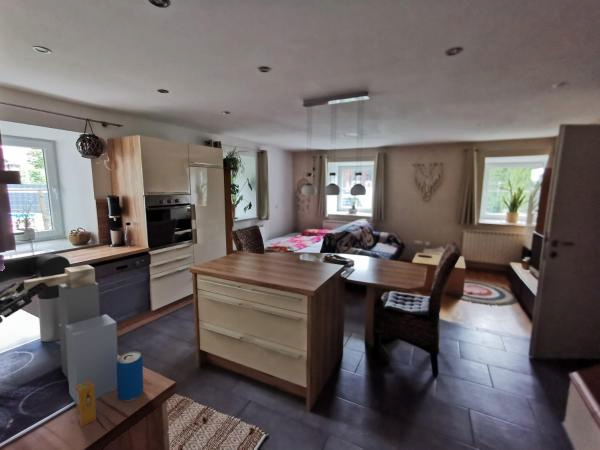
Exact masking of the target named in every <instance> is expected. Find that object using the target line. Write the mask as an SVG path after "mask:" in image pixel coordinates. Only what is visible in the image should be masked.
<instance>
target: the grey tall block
mask: <svg viewBox="0 0 600 450" xmlns="http://www.w3.org/2000/svg"><path fill="white" fill-rule="evenodd" d="M117 327H118V326H117V321H115V320H114V319H113V318H112V317H110V316H109V315H108V314H102V315H100V316H98V317H94V318H91V319H87V320H84V321H80V322H77V323H73V324H70V325H66V326H65V328H66V345H67V362H68V379H69V380H68V379H67V380H68V393H69V395H70V397H71V399H72V400H73V401H74V404H76V405H77V403H76V391H75V386H77V385H80V384H82V383H84V382H86V381H88V380H90V381H91V383H93V384H94V393H95V400H97V399H98V398H100V397H102V396H104V395H106V394H108V393H110V392H112V391H115V390H117V362H118V359H119V356H118V354H119V353H118V334H117V333H118V332H117V330H118V328H117Z"/></svg>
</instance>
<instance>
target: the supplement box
mask: <svg viewBox="0 0 600 450" xmlns="http://www.w3.org/2000/svg"><path fill="white" fill-rule="evenodd" d="M75 391H76V403H77V404H76V403H75V404H76V412H77V413H76V414H77V421H78V423H79V425H80V427H85V426H87V425H88V424H90V423H91V422H93V421H96V420H97V410H96V409H97V408H96V399H95V393H94V384H93V383H91V381H90V380H88V381H86V382H84V383H82V384H80V385H77V386H75Z"/></svg>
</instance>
